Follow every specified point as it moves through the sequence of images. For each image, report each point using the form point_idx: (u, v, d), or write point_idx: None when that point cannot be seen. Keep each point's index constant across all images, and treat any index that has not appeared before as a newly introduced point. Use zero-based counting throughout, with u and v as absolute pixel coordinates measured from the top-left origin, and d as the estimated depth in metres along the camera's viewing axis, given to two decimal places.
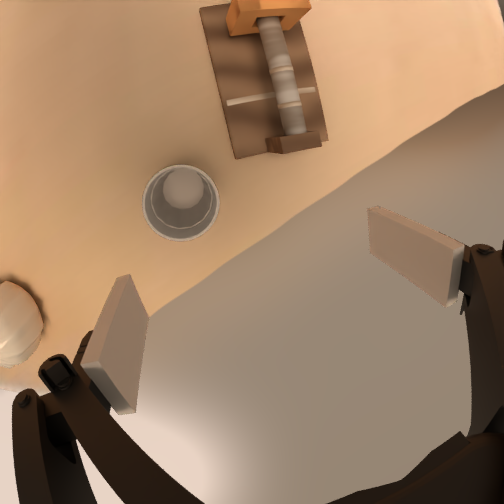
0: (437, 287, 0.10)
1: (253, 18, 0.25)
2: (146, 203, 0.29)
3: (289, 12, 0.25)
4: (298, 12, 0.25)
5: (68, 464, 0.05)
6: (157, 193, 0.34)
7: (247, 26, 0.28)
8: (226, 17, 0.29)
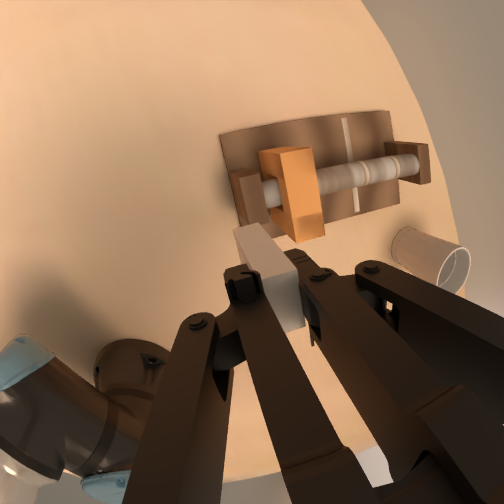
0: None
1: None
2: None
3: None
4: None
5: (219, 401, 0.08)
6: None
7: None
8: (275, 222, 0.34)
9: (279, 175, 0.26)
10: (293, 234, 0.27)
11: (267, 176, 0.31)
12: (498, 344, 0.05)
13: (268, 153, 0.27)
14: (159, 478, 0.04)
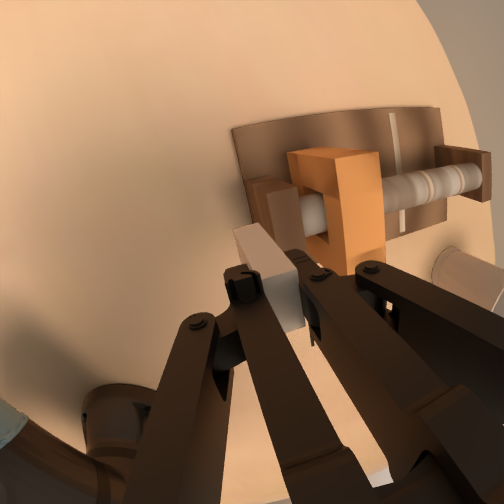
0: None
1: None
2: None
3: None
4: None
5: (219, 401, 0.08)
6: None
7: None
8: None
9: (328, 191, 0.17)
10: None
11: (301, 188, 0.22)
12: (498, 344, 0.05)
13: (308, 156, 0.18)
14: (159, 478, 0.04)
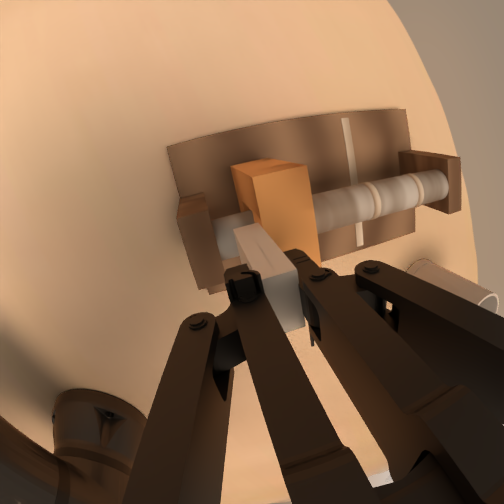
0: None
1: None
2: None
3: None
4: None
5: (219, 401, 0.08)
6: None
7: None
8: None
9: (254, 210, 0.17)
10: None
11: (242, 204, 0.21)
12: (498, 344, 0.05)
13: (240, 172, 0.18)
14: (159, 478, 0.04)
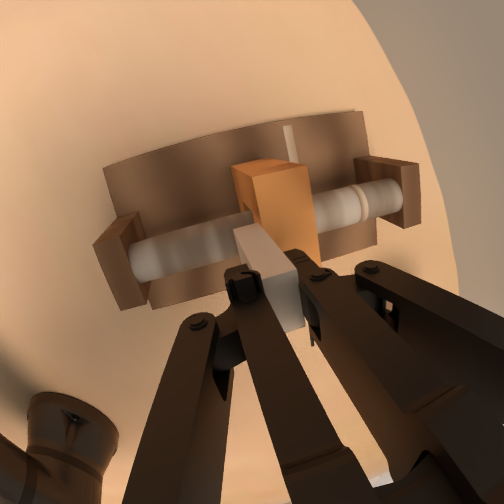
0: None
1: None
2: None
3: None
4: None
5: (219, 401, 0.08)
6: None
7: None
8: None
9: (254, 210, 0.17)
10: None
11: (242, 204, 0.21)
12: (498, 344, 0.05)
13: (240, 172, 0.18)
14: (159, 478, 0.04)
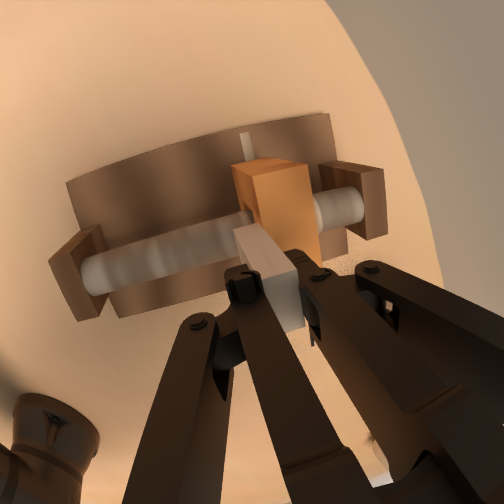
0: None
1: None
2: None
3: None
4: None
5: (219, 401, 0.08)
6: None
7: None
8: None
9: (254, 209, 0.16)
10: None
11: (242, 203, 0.21)
12: (498, 344, 0.05)
13: (240, 171, 0.18)
14: (159, 478, 0.04)
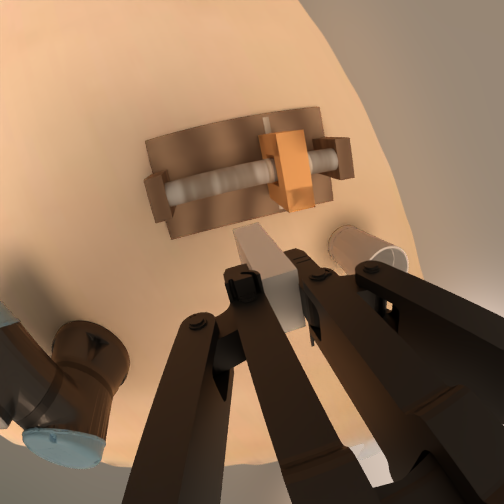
0: None
1: None
2: None
3: None
4: None
5: (219, 401, 0.08)
6: None
7: None
8: None
9: (275, 153, 0.29)
10: (286, 204, 0.31)
11: (265, 156, 0.34)
12: (498, 344, 0.05)
13: (266, 135, 0.31)
14: (159, 478, 0.04)
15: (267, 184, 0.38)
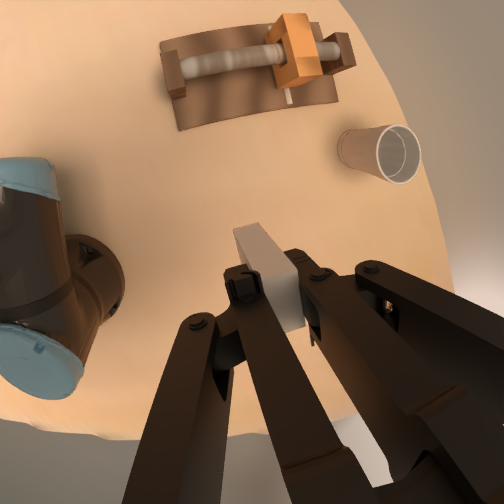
0: None
1: None
2: (393, 180, 0.34)
3: None
4: None
5: (219, 401, 0.08)
6: None
7: None
8: (280, 87, 0.34)
9: (282, 32, 0.26)
10: (296, 71, 0.28)
11: None
12: (498, 344, 0.05)
13: (273, 25, 0.28)
14: (159, 478, 0.04)
15: (275, 76, 0.34)
